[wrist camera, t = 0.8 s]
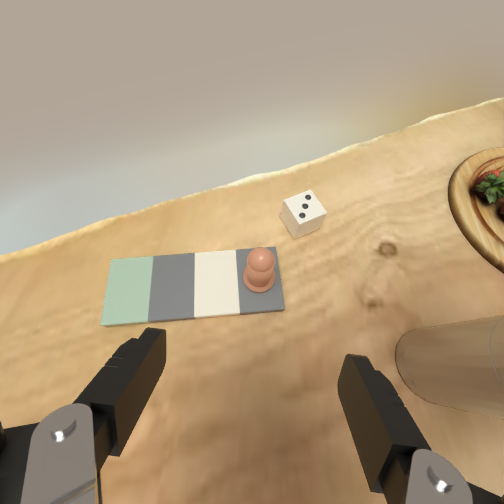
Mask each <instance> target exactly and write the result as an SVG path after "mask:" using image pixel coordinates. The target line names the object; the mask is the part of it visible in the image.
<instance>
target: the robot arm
mask: <svg viewBox="0 0 504 504" xmlns="http://www.w3.org/2000/svg"><path fill="white" fill-rule="evenodd" d="M165 362H166V330H165V329H157V328H149V327H148V328H146V329H145V331H144V332H143V333H142V335H141V336H140V337H139V339H136V338H131V339H130V340H128V341H127V342H125V343H124V344H122V345H121V346H120V347H119V348H118V349H117V350H116V352H115V353H114V354H113V355H112V358H110V359H109V360H108V361H107V363H106V364H105V366H104V367H102V369H101V370H100V371H99V372H98V373H97V375H96V376H95V377H94V378H93V379H92V381H91V382H90V383H89V384H88V385H87V387H86V388H85V389H84V390H83V392H82V393H81V394H80V395H79V396H78V398H77V399H76V400H75V401H74V402H73V403H72V404H69V405H66V406H63V407H61V408H59V409H57V410H55V411H53V412H52V413H50V414H49V415H48V416H46V417H45V418H44V419H43V420H42V421H41V422H39V423H35V424H29V425H23V426H18V427H12V428H7V429H3V427H2V424H1V422H0V504H103V496H102V481H101V468H102V466H103V464H104V462H105V461H106V459H107V457H108V455H111V456H118V457H120V455H121V453H122V451H123V449H124V447H125V445H126V443H127V441H128V439H129V437H130V435H131V433H132V431H133V429H134V427H135V425H136V423H137V421H138V419H139V417H140V415H141V413H142V411H143V409H144V407H145V406H146V404H147V402H148V400H149V398H150V396H151V394H152V392H153V390H154V388H155V386H156V384H157V382H158V380H159V378H160V376H161V374H162V372H163V369H164V366H165ZM396 363H397V368H398V370H399V373H400V375H401V377H402V379H403V380H404V382H405V383H406V385H407V386H408V387H409V388H410V389H411V390H412V391H413V392H414V393H415V394H417V395H418V396H419V397H421V398H423V399H424V400H427V401H429V402H432V403H436V404H440V405H444V406H448V407H452V408H456V409H460V410H464V411H468V412H473V413H477V414H481V415H485V416H489V417H493V418H498V419H502V420H504V315H500V316H494V317H488V318H482V319H476V320H470V321H464V322H459V323H453V324H447V325H441V326H434V327H428V328H423V329H417V330H413V331H410V332H408V333H406V334H405V335H403V337H402V338H401V339H400V340H399V342H398V345H397V348H396ZM338 395H339V398H340V401H341V404H342V407H343V410H344V413H345V416H346V419H347V422H348V425H349V428H350V431H351V434H352V437H353V440H354V443H355V446H356V449H357V452H358V455H359V458H360V461H361V464H362V467H363V470H364V473H365V476H366V479H367V482H368V485H369V488H370V491H371V492H376V493H383V494H384V495H385V498H386V501H387V503H388V504H504V495H503V496H502V497H499V496H497V495H495V494H493V493H491V492H488V491H486V490H484V489H482V488H480V487H477V486H475V485H473V484H471V483H469V482H467V481H466V480H465V479H464V477H463V476H462V475H461V473H460V472H459V471H458V470H457V469H456V468H455V467H454V466H453V465H452V464H451V463H450V462H449V461H448V460H446V459H445V458H444V457H442V456H441V455H439V454H437V453H435V452H433V451H432V450H431V448H430V446H429V445H428V443H427V441H426V440H425V438H424V437H423V435H422V433H421V432H420V430H419V428H418V427H417V425H416V423H415V422H414V420H413V418H412V417H411V415H410V413H409V412H408V410H407V408H406V407H404V403H403V402H402V400H401V398H400V397H399V396H398V393H397V392H396V390H395V388H394V387H393V385H392V384H391V382H390V381H389V380H388V379H387V378H386V377H385V376H384V375H383V374H382V373H381V372H380V371H377V370H374V368H373V366H372V365H371V363H370V361H369V359H368V358H367V357H366V356H361V355H353V354H347V355H346V357H345V360H344V363H343V366H342V369H341V373H340V376H339V379H338Z"/></svg>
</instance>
